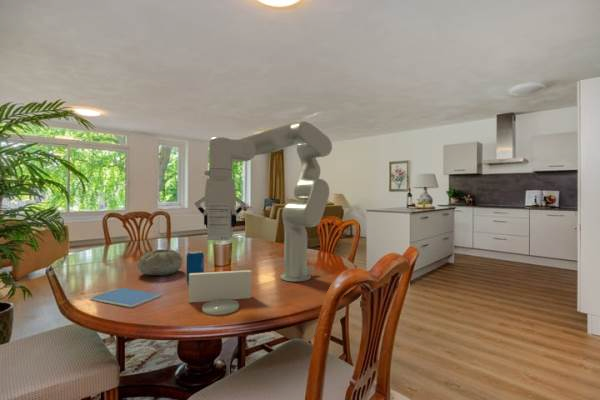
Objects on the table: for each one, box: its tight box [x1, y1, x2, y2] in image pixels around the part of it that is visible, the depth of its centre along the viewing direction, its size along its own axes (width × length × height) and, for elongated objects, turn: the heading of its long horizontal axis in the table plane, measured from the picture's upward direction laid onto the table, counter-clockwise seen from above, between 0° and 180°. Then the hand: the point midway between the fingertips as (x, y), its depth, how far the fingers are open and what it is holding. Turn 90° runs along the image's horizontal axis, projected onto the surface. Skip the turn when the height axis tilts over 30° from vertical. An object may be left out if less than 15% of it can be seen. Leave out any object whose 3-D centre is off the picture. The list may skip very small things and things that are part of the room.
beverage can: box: [186, 250, 205, 284], centre depth 122 cm, size 6×6×12 cm
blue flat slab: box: [89, 287, 162, 309], centre depth 104 cm, size 19×13×1 cm, turn 69°
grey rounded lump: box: [136, 248, 183, 276], centre depth 134 cm, size 18×18×10 cm
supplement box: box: [206, 202, 234, 241], centre depth 105 cm, size 7×7×13 cm
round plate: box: [201, 299, 240, 316], centre depth 96 cm, size 11×11×1 cm
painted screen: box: [188, 269, 252, 304], centre depth 103 cm, size 20×2×9 cm, turn 104°
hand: (220, 226), depth 105 cm, fingers closed on supplement box, 8 cm apart
